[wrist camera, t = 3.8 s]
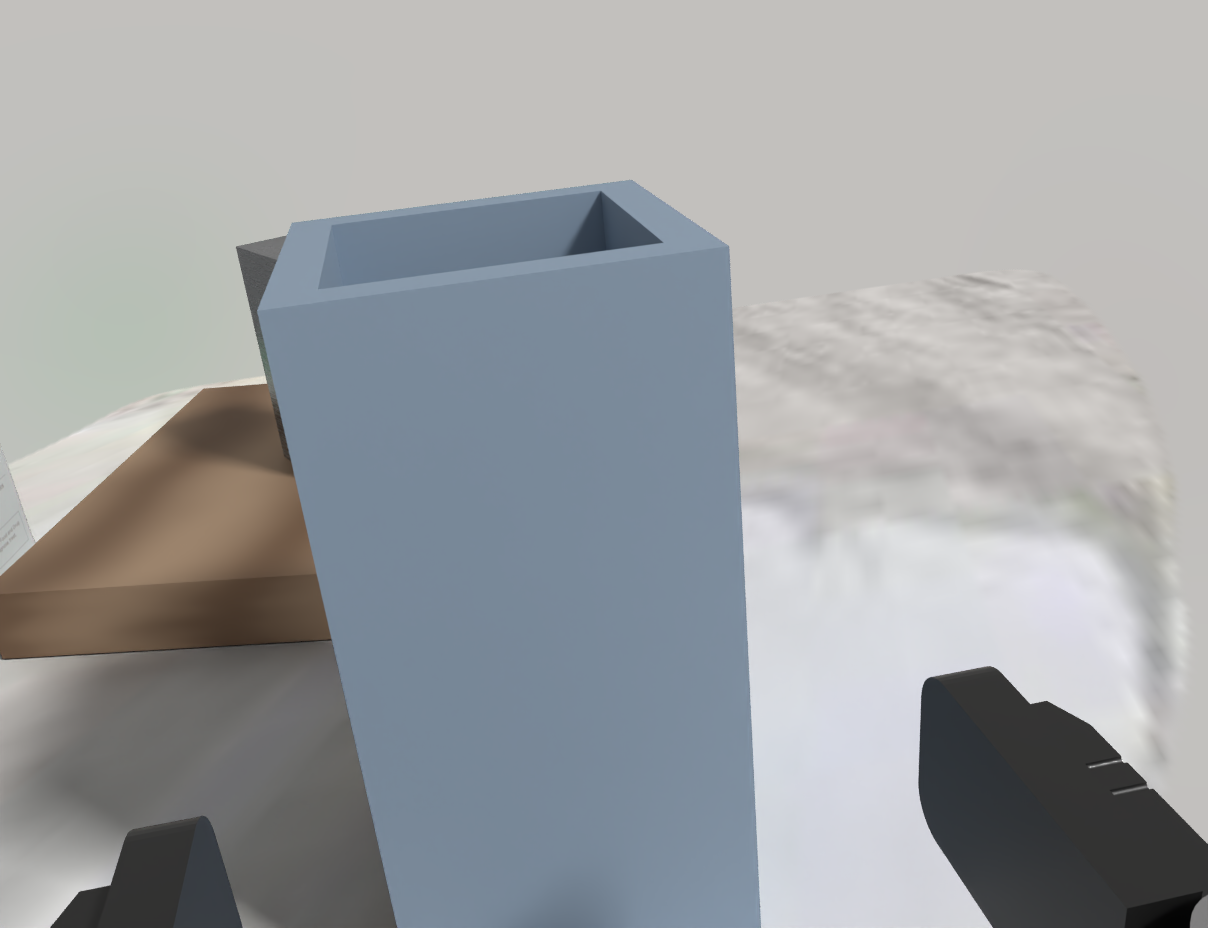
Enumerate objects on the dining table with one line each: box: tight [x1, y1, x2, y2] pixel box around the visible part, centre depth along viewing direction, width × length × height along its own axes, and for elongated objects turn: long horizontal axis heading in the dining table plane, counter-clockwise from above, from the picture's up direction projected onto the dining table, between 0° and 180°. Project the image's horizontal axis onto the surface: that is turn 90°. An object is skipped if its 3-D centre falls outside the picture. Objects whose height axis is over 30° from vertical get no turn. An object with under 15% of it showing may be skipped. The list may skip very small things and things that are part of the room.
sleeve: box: [257, 180, 761, 928], centre depth 19 cm, size 6×6×12 cm
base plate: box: [0, 384, 331, 659], centre depth 36 cm, size 16×16×2 cm
